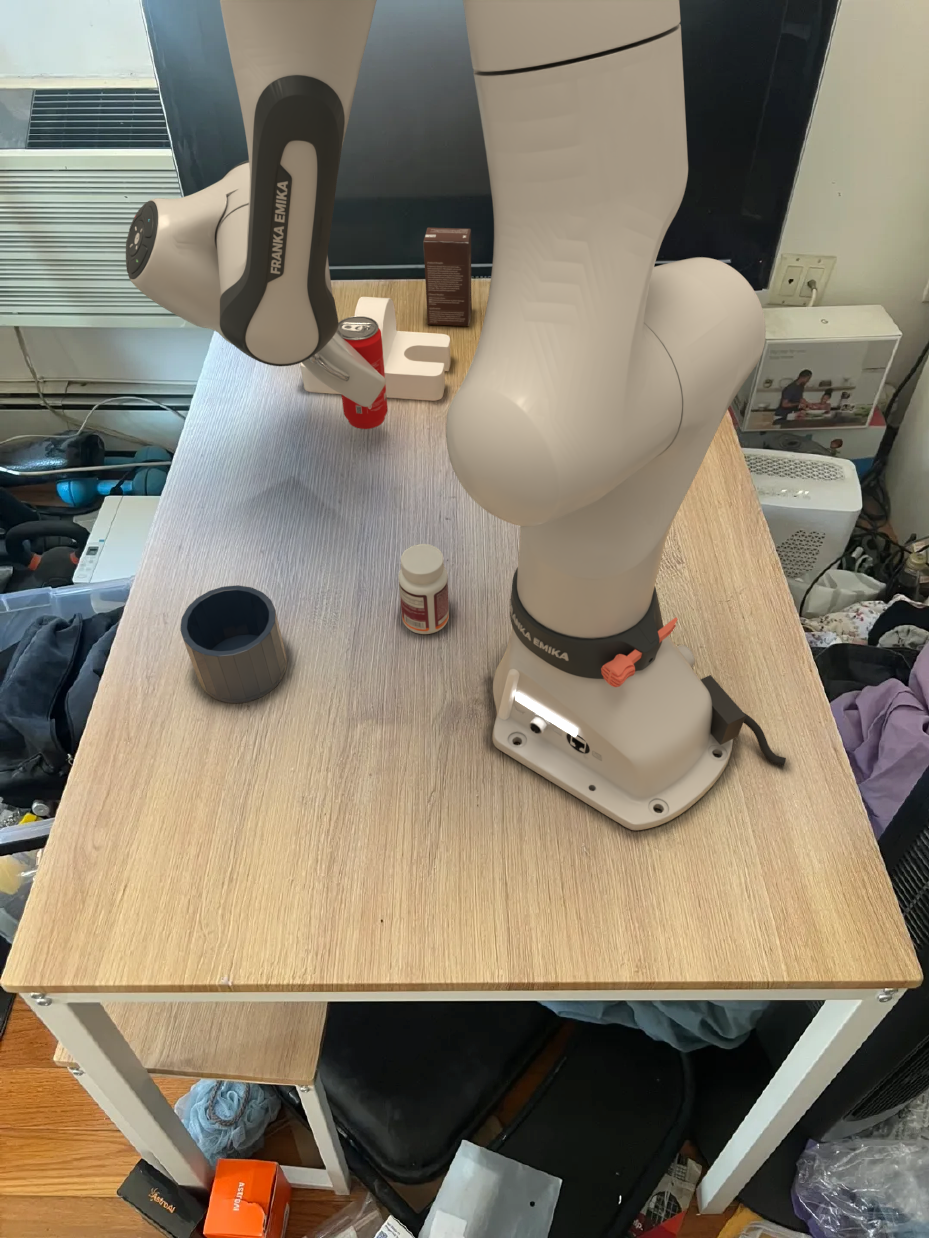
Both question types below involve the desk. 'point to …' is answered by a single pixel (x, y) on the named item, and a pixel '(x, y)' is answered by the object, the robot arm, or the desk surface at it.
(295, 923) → the desk surface
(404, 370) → the white u-slot block
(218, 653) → the faceted open cup
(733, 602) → the desk surface
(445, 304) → the box
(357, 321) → the beverage can
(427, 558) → the pill bottle
